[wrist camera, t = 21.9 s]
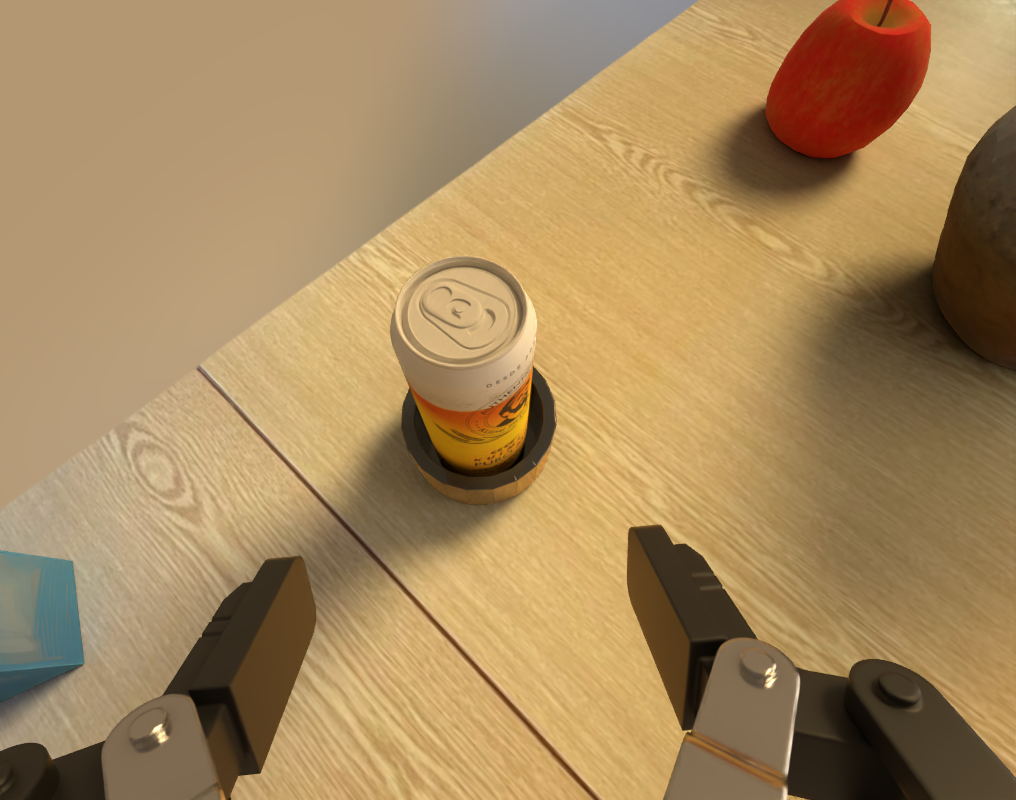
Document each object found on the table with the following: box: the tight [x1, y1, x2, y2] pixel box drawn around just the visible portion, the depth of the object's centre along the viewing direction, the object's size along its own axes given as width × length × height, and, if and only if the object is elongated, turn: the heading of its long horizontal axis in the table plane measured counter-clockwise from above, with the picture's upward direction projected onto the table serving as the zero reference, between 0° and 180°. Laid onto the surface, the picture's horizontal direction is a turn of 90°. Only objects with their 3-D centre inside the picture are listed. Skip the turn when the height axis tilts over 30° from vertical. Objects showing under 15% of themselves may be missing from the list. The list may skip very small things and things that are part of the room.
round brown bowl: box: [401, 366, 557, 505], centre depth 32 cm, size 9×9×4 cm
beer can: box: [390, 256, 537, 477], centre depth 27 cm, size 6×6×15 cm
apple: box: [766, 0, 931, 158], centre depth 42 cm, size 11×11×11 cm
